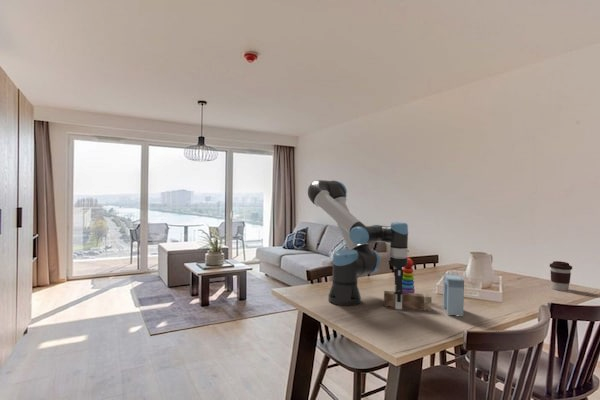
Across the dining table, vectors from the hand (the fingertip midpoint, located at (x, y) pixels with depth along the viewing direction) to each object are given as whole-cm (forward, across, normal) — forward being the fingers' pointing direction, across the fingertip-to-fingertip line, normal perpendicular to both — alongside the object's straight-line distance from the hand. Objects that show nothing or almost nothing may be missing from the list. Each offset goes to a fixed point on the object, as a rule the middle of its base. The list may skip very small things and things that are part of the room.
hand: (398, 304), depth 154 cm
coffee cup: (+2, +57, -88) cm, 105 cm away
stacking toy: (+1, +19, -5) cm, 20 cm away
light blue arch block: (+1, 0, -23) cm, 23 cm away
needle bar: (+1, 0, -4) cm, 4 cm away
